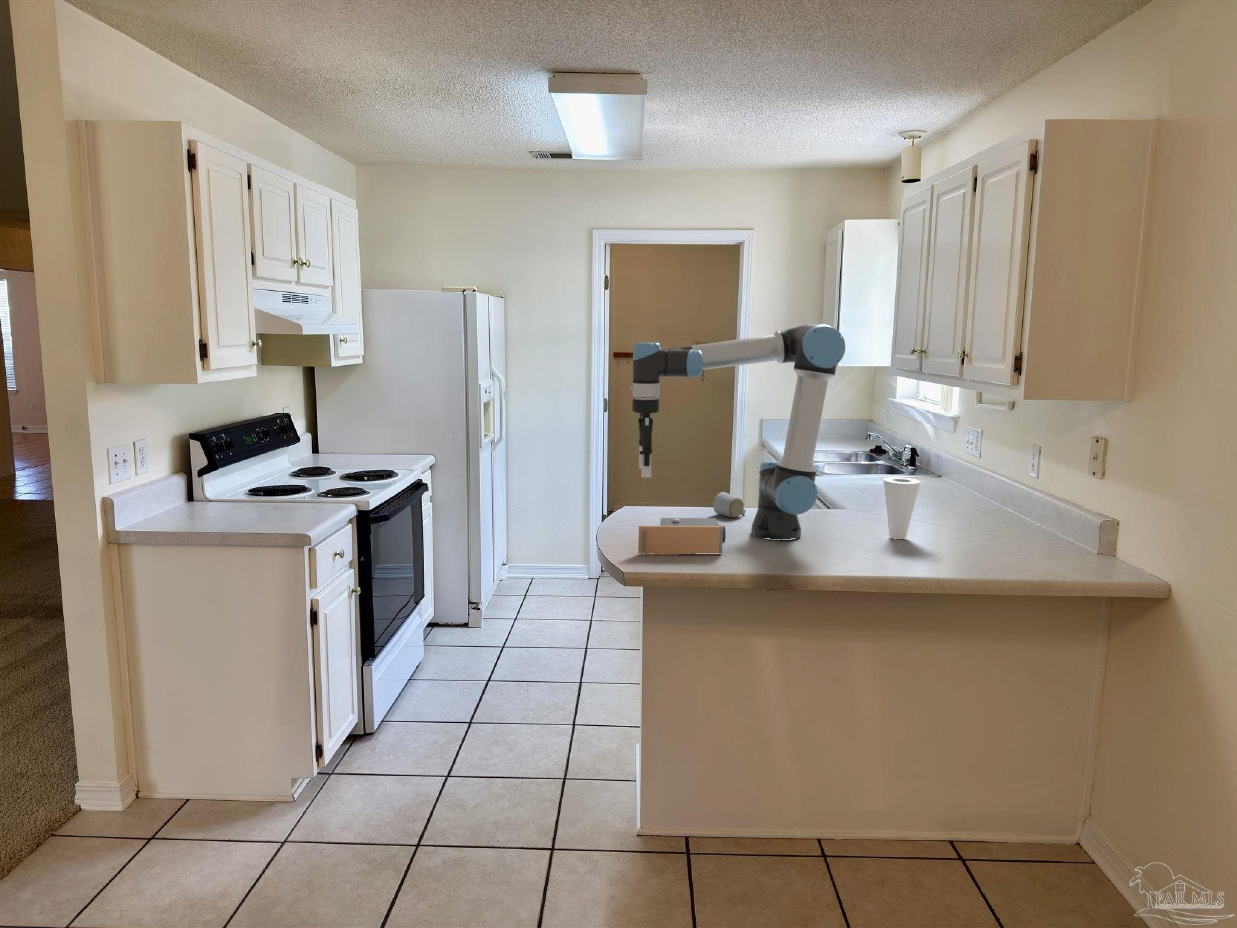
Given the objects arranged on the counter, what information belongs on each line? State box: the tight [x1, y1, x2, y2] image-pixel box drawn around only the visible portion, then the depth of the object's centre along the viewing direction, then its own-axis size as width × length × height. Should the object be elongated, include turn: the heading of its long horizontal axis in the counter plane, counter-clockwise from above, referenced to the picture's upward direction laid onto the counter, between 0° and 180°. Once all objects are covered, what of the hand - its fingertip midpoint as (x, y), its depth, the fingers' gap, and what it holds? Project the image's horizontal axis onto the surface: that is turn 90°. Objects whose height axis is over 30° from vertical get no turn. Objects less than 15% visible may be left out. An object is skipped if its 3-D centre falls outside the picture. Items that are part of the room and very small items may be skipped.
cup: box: [883, 476, 921, 539], centre depth 255 cm, size 11×11×18 cm
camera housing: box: [659, 517, 727, 544], centre depth 240 cm, size 18×10×9 cm, turn 92°
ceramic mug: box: [712, 491, 747, 519], centre depth 282 cm, size 11×8×8 cm
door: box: [637, 525, 724, 555], centre depth 233 cm, size 24×2×8 cm, turn 92°
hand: (644, 472), depth 237 cm, fingers open, 13 cm apart
